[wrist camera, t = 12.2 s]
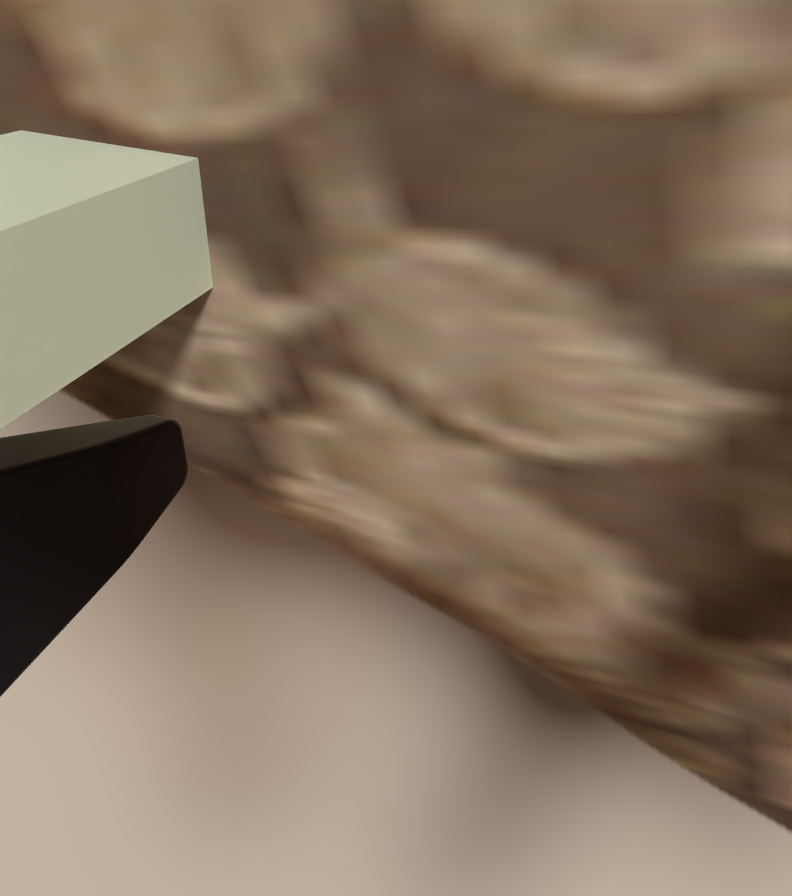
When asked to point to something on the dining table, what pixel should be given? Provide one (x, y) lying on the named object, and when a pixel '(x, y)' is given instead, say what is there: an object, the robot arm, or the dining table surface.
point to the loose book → (89, 256)
